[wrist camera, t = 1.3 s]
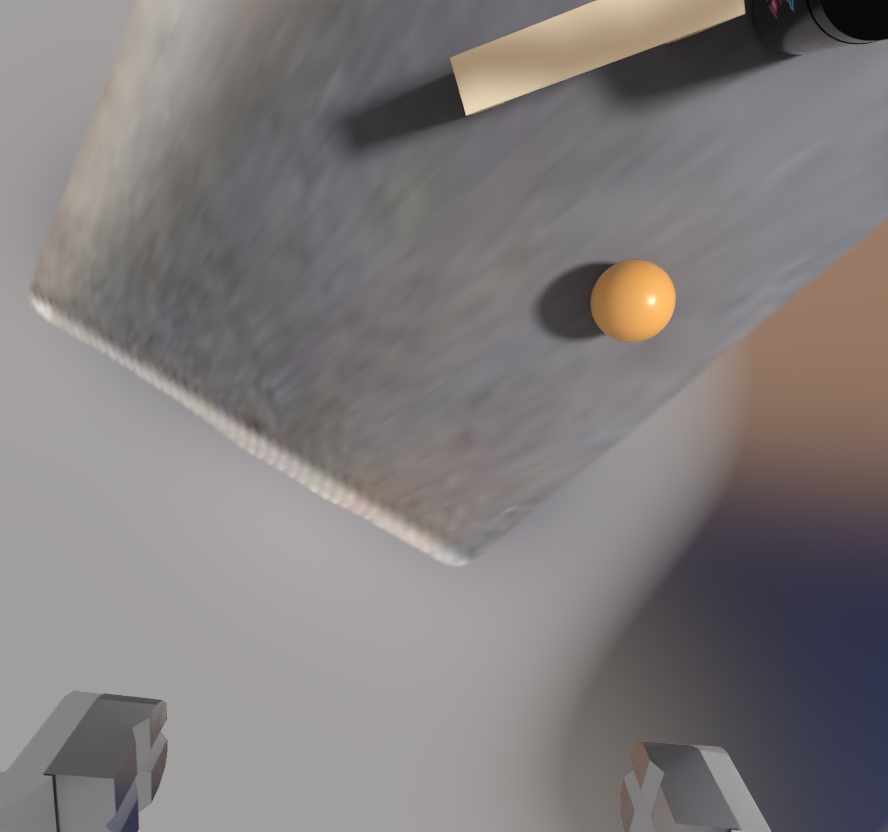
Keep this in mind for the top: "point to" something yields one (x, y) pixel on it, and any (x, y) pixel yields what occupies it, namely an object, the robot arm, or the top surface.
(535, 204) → the top surface
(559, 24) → the bridge
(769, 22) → the supplement container
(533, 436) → the top surface
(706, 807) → the robot arm
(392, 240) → the top surface
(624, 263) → the ball
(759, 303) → the top surface
